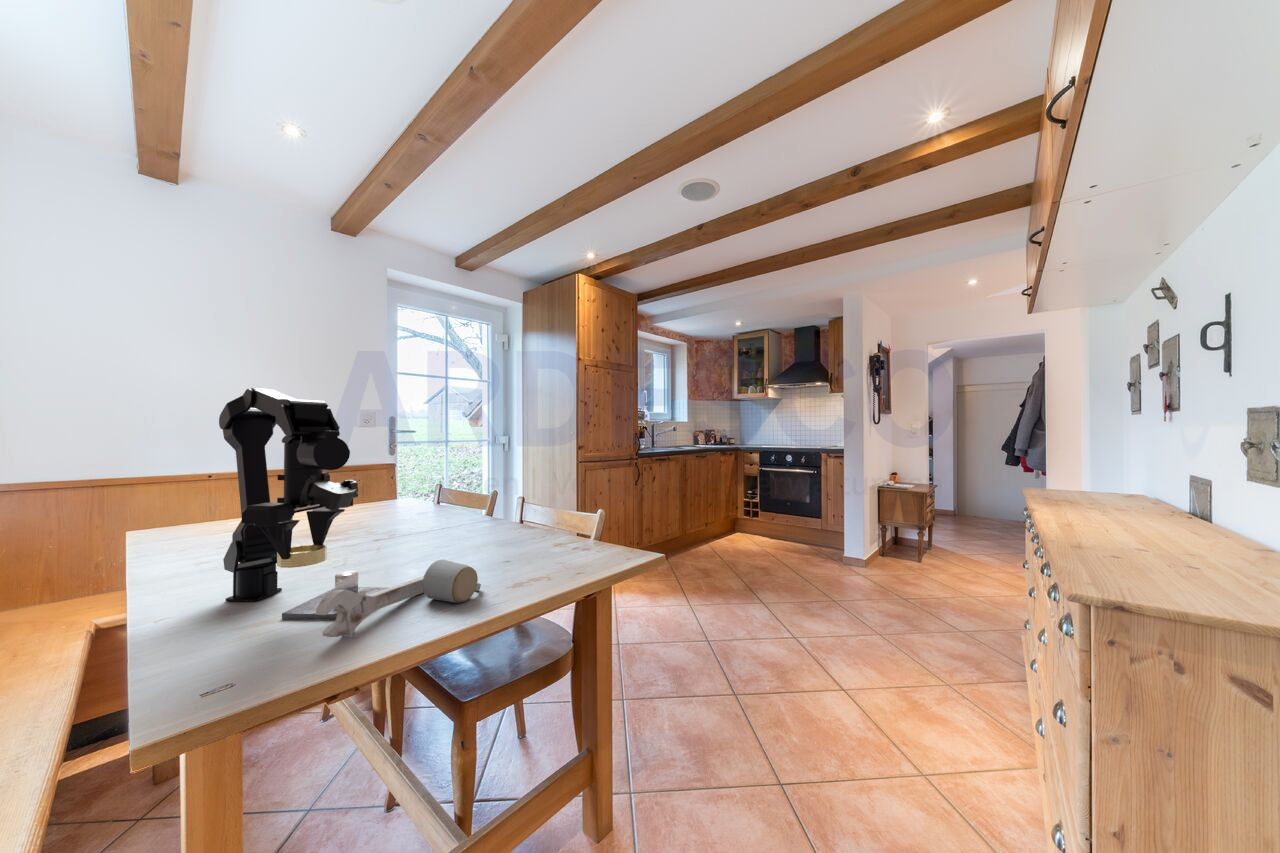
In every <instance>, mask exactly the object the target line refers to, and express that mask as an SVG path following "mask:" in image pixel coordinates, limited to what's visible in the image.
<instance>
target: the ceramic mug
mask: <svg viewBox="0 0 1280 853" xmlns="http://www.w3.org/2000/svg"><path fill="white" fill-rule="evenodd" d="M423 576H424V578H423V584H422V586H423V592H424V593H423V594H424V595H425V597H427V598H428V599H431V600H436V601H443V602H446V603H447V602H449V603H454V604H461V603H464V602H467V601H468V600H469V599H470V598H471V597H472V596H473V595H474V593H475V592H479V591H480V590H481V586H482V584H481V583H480V582H479V580H478V578H479V577H478V573H477V571H476V570H475V569H474V568H473V567H471V566H469V565H468V564H464V563H458V562H455V561H452V560H447V559H442V558H441V559H437V560H435V561H434V562H432V563H431V564H430V565H429V567H428V568H427V569H426V571H425V573H424V575H423Z"/></svg>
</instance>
